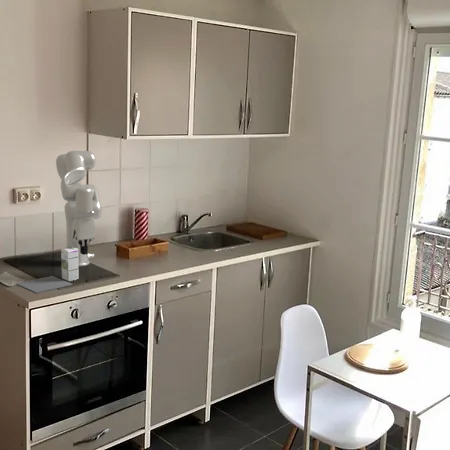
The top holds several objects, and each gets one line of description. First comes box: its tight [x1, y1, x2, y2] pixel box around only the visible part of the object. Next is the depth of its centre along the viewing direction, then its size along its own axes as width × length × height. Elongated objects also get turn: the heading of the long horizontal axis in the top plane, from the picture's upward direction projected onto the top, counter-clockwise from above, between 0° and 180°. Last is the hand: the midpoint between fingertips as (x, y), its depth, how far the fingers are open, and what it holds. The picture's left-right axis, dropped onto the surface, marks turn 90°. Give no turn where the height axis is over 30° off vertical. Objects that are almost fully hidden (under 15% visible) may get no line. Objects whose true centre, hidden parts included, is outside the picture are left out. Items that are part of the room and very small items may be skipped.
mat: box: [16, 275, 74, 294], centre depth 273 cm, size 18×16×1 cm
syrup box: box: [60, 246, 80, 282], centre depth 281 cm, size 6×6×14 cm
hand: (83, 253), depth 285 cm, fingers closed
